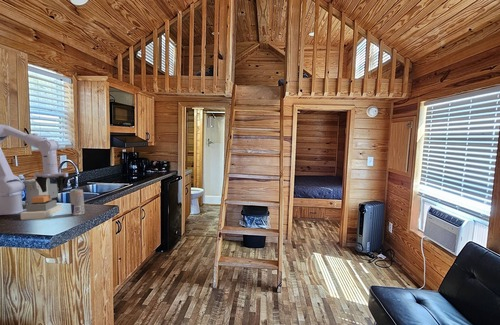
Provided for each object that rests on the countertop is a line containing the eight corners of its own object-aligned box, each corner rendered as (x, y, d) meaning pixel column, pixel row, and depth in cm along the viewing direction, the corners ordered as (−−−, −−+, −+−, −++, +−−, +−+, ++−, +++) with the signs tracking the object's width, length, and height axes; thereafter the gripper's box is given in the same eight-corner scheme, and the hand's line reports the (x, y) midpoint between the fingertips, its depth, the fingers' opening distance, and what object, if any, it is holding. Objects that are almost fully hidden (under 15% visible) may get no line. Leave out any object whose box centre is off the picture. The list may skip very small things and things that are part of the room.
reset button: (32, 202, 124) (31, 197, 124) (39, 200, 129) (38, 195, 128) (43, 202, 124) (43, 197, 124) (50, 199, 129) (49, 194, 129)
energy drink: (75, 212, 130) (73, 189, 129) (86, 212, 130) (85, 188, 129) (69, 216, 125) (67, 191, 123) (81, 215, 125) (79, 191, 124)
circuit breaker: (61, 202, 150) (58, 176, 149) (38, 209, 136) (36, 181, 135) (49, 202, 151) (46, 176, 150) (25, 209, 137) (22, 180, 135)
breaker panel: (20, 219, 120) (19, 206, 119) (41, 210, 134) (39, 199, 133) (44, 218, 121) (43, 206, 120) (62, 209, 135) (61, 198, 134)
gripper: (28, 165, 124) (31, 193, 126) (61, 165, 126) (63, 192, 127) (38, 164, 131) (40, 190, 133) (69, 163, 133) (71, 189, 134)
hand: (52, 191), depth 130 cm, fingers open, 7 cm apart
